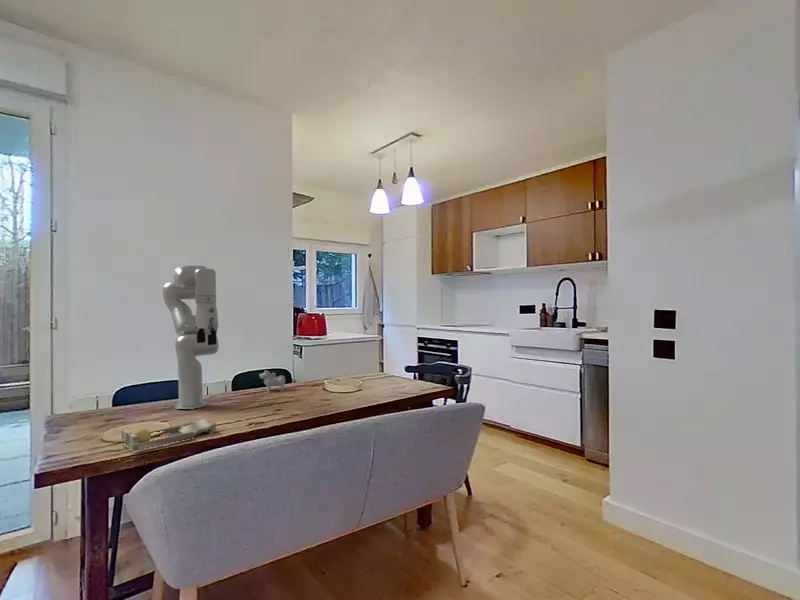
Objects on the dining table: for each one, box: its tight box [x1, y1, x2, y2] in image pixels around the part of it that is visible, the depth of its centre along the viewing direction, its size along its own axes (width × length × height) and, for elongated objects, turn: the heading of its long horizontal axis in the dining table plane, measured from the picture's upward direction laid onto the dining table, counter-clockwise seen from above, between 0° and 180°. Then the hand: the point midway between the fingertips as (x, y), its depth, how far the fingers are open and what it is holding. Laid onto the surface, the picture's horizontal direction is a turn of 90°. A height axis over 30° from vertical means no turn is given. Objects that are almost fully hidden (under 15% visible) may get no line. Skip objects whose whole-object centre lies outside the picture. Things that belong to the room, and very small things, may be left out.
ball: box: [133, 428, 151, 444], centre depth 152 cm, size 5×5×5 cm
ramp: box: [177, 418, 217, 436], centre depth 166 cm, size 10×9×3 cm
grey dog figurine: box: [258, 370, 286, 393], centre depth 236 cm, size 5×13×11 cm, turn 100°
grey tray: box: [121, 425, 195, 451], centre depth 156 cm, size 12×19×5 cm, turn 137°
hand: (206, 343), depth 183 cm, fingers open, 9 cm apart
